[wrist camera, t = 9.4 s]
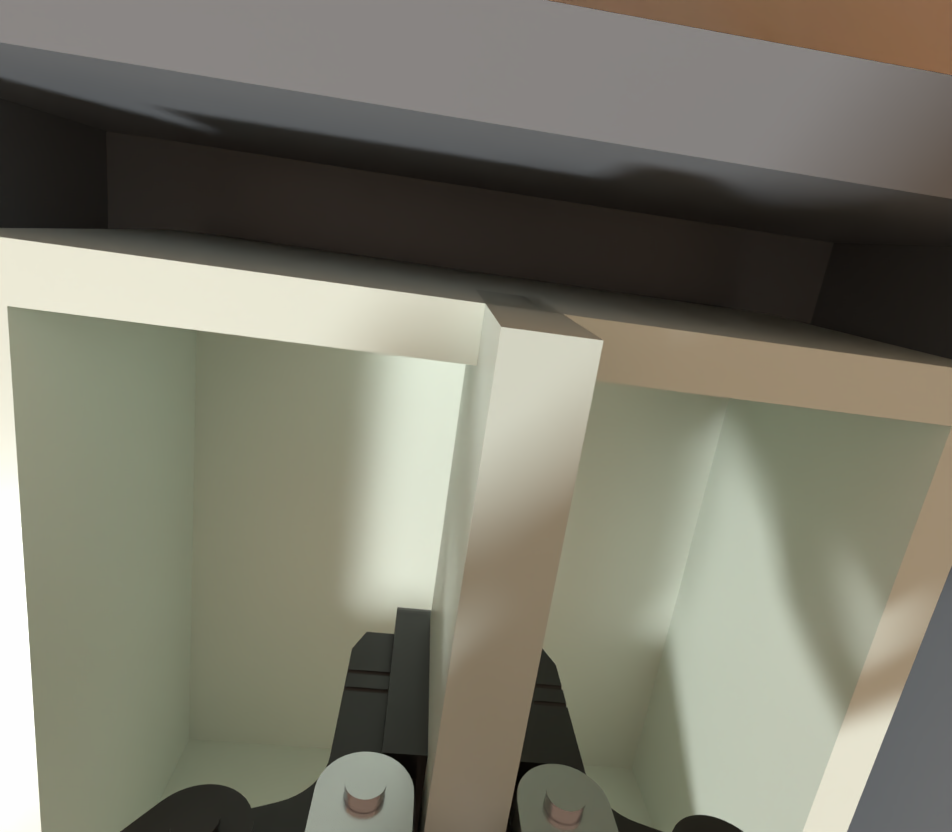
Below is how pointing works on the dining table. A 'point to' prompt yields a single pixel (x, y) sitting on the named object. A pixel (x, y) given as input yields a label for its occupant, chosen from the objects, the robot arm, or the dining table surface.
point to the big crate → (518, 180)
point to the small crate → (446, 530)
